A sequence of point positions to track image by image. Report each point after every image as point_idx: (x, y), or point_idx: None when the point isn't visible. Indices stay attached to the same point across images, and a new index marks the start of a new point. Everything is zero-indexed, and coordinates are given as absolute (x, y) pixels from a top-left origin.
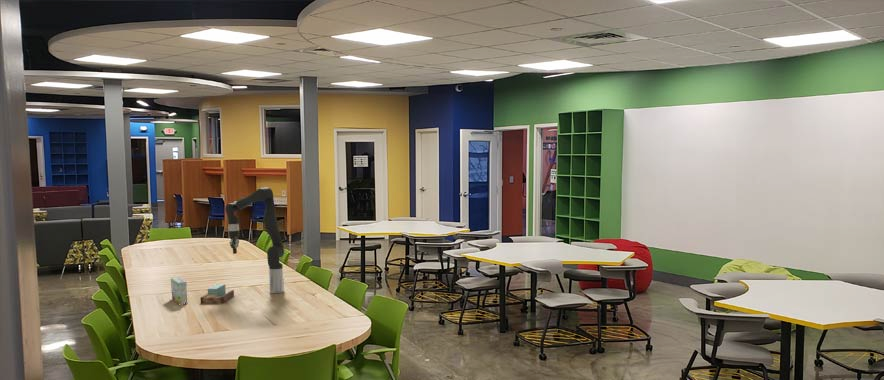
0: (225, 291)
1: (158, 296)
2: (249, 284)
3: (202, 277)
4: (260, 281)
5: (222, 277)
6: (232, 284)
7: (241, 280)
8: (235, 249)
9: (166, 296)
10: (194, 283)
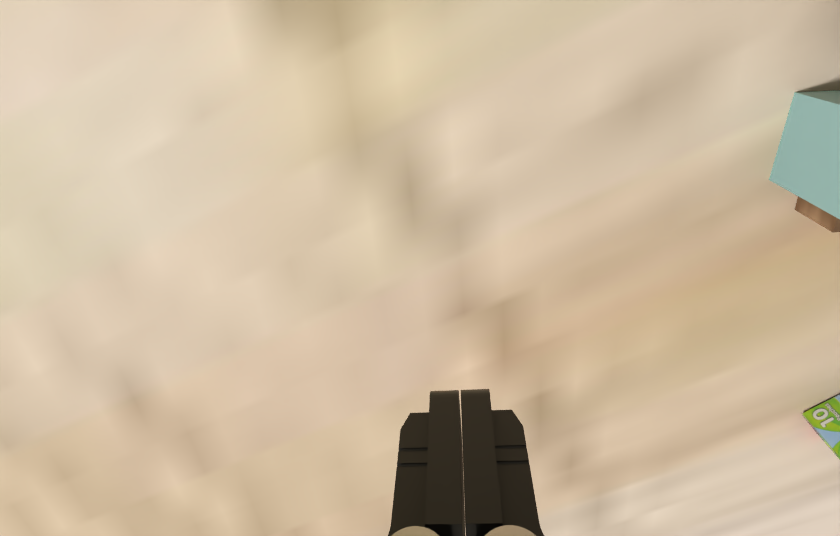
0: (826, 100)
1: (716, 529)
2: (256, 76)
3: (141, 532)
4: (73, 12)
5: (82, 430)
6: (297, 250)
7: (116, 245)
8: (498, 503)
9: (725, 495)
10: (326, 504)
